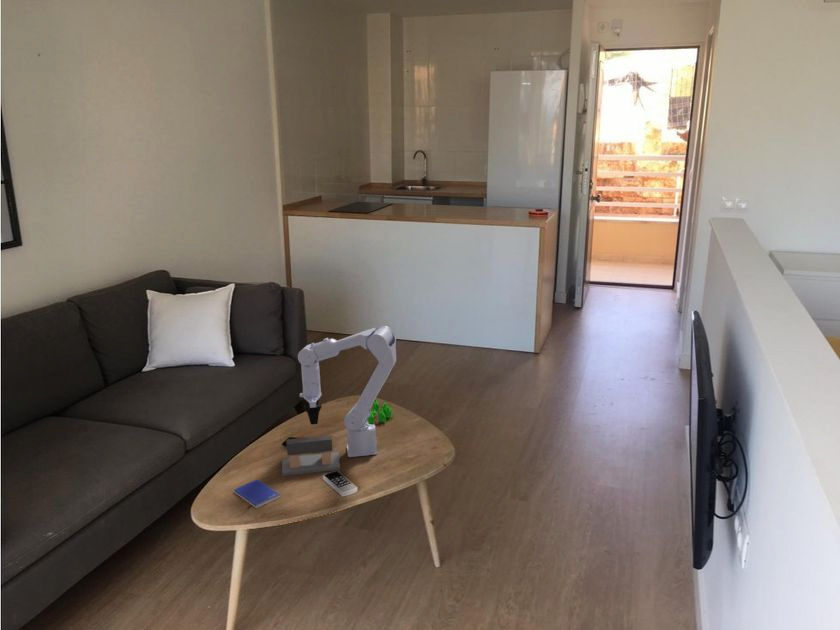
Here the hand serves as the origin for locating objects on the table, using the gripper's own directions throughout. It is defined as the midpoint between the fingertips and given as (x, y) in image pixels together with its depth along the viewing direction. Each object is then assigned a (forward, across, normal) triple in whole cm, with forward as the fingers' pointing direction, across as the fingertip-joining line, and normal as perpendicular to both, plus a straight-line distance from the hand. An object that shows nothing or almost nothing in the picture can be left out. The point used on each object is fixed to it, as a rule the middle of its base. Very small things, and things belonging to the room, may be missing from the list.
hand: (313, 418), depth 221 cm
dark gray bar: (+5, +12, -2) cm, 13 cm away
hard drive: (+11, +26, -18) cm, 34 cm away
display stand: (+10, +12, -2) cm, 16 cm away
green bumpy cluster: (+11, -19, +22) cm, 31 cm away
